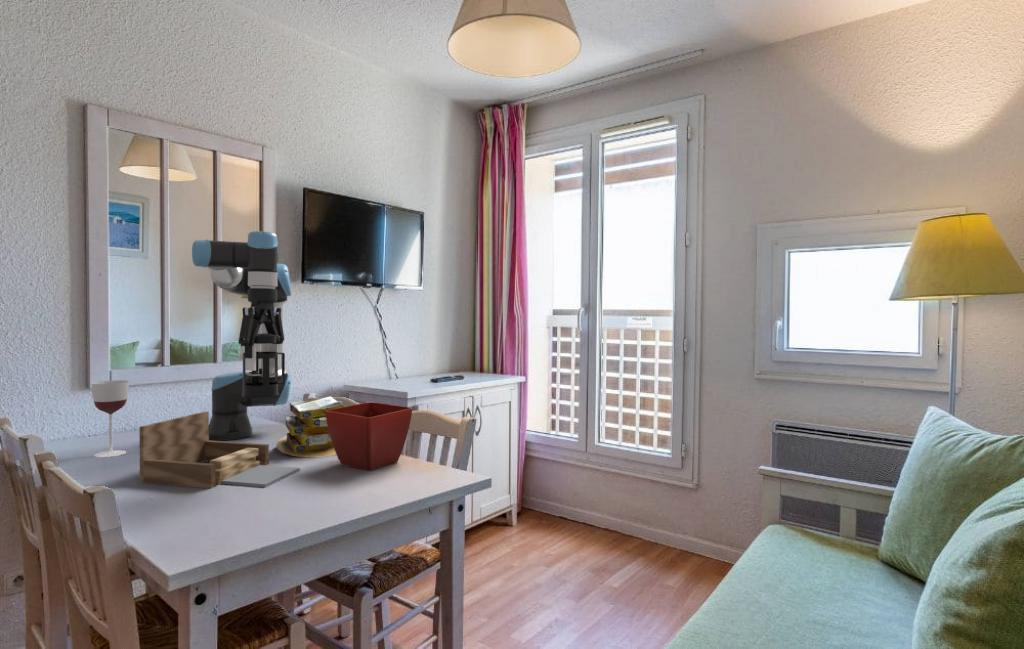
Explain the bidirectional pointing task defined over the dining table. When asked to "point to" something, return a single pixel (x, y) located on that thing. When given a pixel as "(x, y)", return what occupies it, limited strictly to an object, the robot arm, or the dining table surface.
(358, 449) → the plant pot
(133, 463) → the dining table surface
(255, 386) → the french press
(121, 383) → the wineglass
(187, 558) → the dining table surface
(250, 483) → the slate mat
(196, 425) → the wooden box
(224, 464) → the offcut stack
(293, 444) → the stacked boxes on plate
